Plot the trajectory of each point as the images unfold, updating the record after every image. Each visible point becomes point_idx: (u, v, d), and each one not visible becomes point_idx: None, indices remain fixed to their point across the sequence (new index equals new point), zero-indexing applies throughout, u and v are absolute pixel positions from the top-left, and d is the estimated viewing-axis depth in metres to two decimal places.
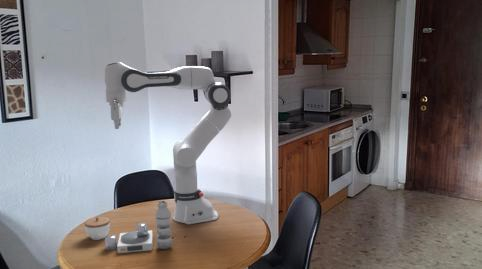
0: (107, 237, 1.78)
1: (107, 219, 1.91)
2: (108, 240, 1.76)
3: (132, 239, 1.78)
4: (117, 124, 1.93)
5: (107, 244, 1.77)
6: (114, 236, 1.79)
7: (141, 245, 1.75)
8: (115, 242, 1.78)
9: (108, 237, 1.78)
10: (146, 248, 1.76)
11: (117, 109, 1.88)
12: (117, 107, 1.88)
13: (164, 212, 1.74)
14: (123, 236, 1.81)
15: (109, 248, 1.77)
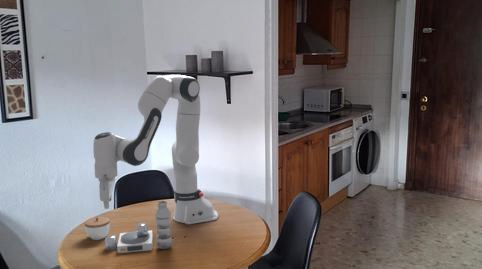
0: (107, 237, 1.78)
1: (107, 219, 1.91)
2: (108, 240, 1.76)
3: (132, 239, 1.78)
4: (107, 203, 1.70)
5: (107, 244, 1.77)
6: (114, 236, 1.79)
7: (141, 245, 1.75)
8: (115, 242, 1.78)
9: (108, 237, 1.78)
10: (146, 248, 1.76)
11: (107, 189, 1.65)
12: (107, 186, 1.65)
13: (164, 212, 1.74)
14: (123, 236, 1.81)
15: (109, 248, 1.77)
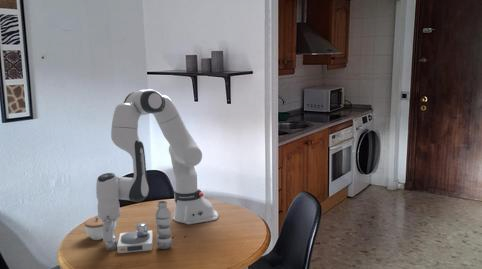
0: None
1: None
2: None
3: (132, 239, 1.78)
4: (110, 242, 1.75)
5: (107, 244, 1.77)
6: (114, 236, 1.79)
7: (141, 245, 1.75)
8: (115, 242, 1.78)
9: None
10: (146, 248, 1.76)
11: (110, 231, 1.68)
12: (110, 228, 1.68)
13: (164, 212, 1.74)
14: (123, 236, 1.81)
15: (109, 248, 1.77)
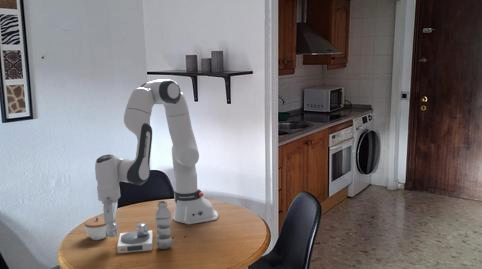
0: None
1: None
2: None
3: (132, 239, 1.78)
4: (112, 224, 1.73)
5: (108, 230, 1.76)
6: (115, 223, 1.78)
7: (141, 245, 1.75)
8: (116, 229, 1.77)
9: None
10: (146, 248, 1.76)
11: (111, 212, 1.67)
12: (111, 209, 1.67)
13: (164, 212, 1.74)
14: (123, 236, 1.81)
15: (109, 235, 1.76)
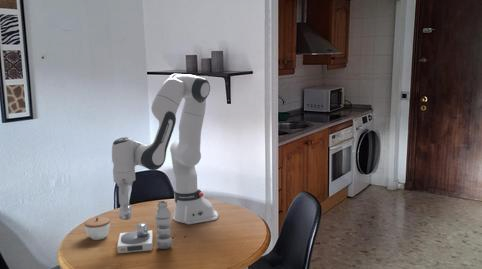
0: (122, 206, 1.78)
1: (107, 219, 1.91)
2: None
3: (132, 239, 1.78)
4: (126, 206, 1.74)
5: (121, 213, 1.77)
6: (129, 206, 1.79)
7: (141, 245, 1.75)
8: (129, 212, 1.78)
9: None
10: (146, 248, 1.76)
11: (126, 193, 1.68)
12: (126, 191, 1.68)
13: (164, 212, 1.74)
14: (123, 236, 1.81)
15: (123, 217, 1.77)
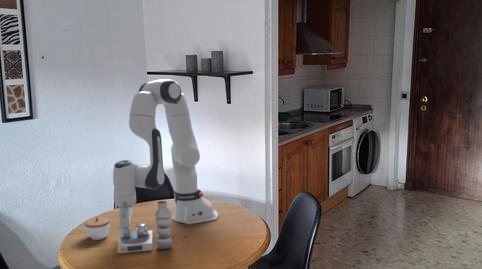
0: None
1: (107, 219, 1.91)
2: (122, 229, 1.78)
3: (132, 239, 1.78)
4: (126, 229, 1.76)
5: (121, 233, 1.78)
6: None
7: (141, 245, 1.75)
8: (129, 231, 1.79)
9: None
10: (146, 248, 1.76)
11: (127, 217, 1.70)
12: (127, 214, 1.70)
13: (164, 212, 1.74)
14: None
15: (123, 237, 1.78)
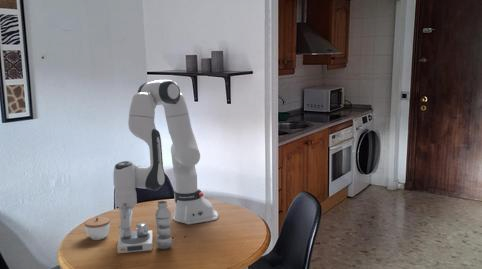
0: None
1: (107, 219, 1.91)
2: (122, 229, 1.78)
3: (132, 239, 1.78)
4: (127, 231, 1.75)
5: (121, 233, 1.78)
6: None
7: (141, 245, 1.75)
8: (129, 231, 1.79)
9: None
10: (146, 248, 1.76)
11: (127, 218, 1.70)
12: (127, 215, 1.70)
13: (164, 212, 1.74)
14: None
15: (123, 237, 1.78)
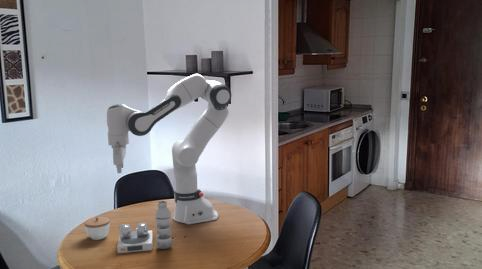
0: (121, 226, 1.79)
1: (107, 219, 1.91)
2: (122, 229, 1.78)
3: (132, 239, 1.78)
4: (119, 168, 1.87)
5: (121, 233, 1.78)
6: (128, 225, 1.80)
7: (141, 245, 1.75)
8: (129, 231, 1.79)
9: (122, 226, 1.79)
10: (146, 248, 1.76)
11: (120, 154, 1.82)
12: (120, 152, 1.82)
13: (164, 212, 1.74)
14: None
15: (123, 237, 1.78)
